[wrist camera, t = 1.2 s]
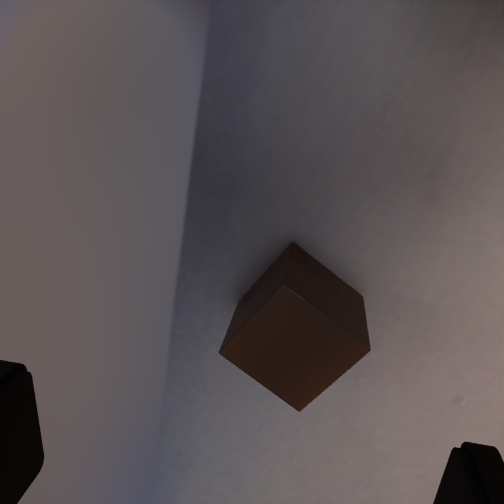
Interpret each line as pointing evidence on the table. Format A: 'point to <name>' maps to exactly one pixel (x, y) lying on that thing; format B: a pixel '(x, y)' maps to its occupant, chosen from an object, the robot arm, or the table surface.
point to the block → (297, 329)
